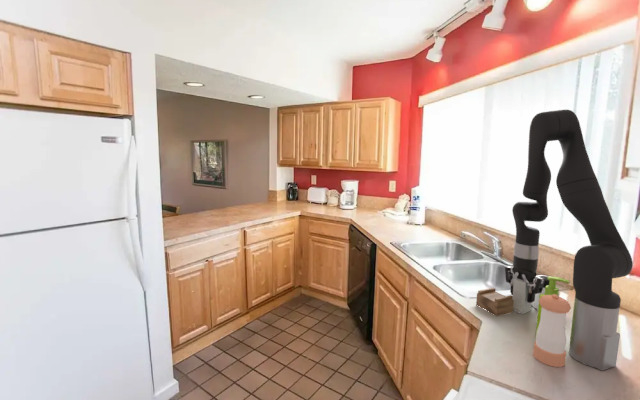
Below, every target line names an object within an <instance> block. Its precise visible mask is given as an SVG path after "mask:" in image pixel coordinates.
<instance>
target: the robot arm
mask: <svg viewBox="0 0 640 400" xmlns="http://www.w3.org/2000/svg"><path fill="white" fill-rule="evenodd" d="M528 133H529V134H528V149H527V150H528V153H527V154H528V155H527V170H526V177H525V181H524V185H523V189H522V194H523V197H524V198H525V199H526V198H527V199H528V200H531V201H517V202H516V203H514V204H513V207H512V210H511V211H512V217H513V219H514V223H515V229H516V230H515V233H516V234H515V243H514V248H513V258H512V259H513V260H512V266H505V268H504V271H505V272H504V273H505V282H506V283H508V284H509V285H510V295H511V296H513V283H514V279H516V278H518V279H521V280H524V282H526V283H527V284H526V287H527V288H528V291H529V293H528V300H527V302H529V303H532V302H534V301H535V294H538V293H541V292H542V289H543V286H544V283H545V278H540V277H538V276H537V270H538V263H539V253H540V250H539V244H540V243H539V242H540V235H541V234H540V230H539V229H537V228H536V227H533V226H532V227H531V226H527V225H526V223H525V222H534V223H535V222H537V223H539V222H540V223H542V222H544V221H545V220H546V219H547V218H548V216H549V209H548V191H549V189H550V184H551V182H552V181H551V180H552V172H551V169H550V167H549V164H548V162H547V159H546V156H545V151H546V146H547V143H548V142H553V141H558V142H559V144H560V147H561V151H562V159H561V160H562V162H561V164H560V167H559V169H558V172H557V176H556V180H555V181H556V187H557V191H558V194H559V197H560V200H561V201H562V204H563V205H564V207H565V208H566V209H567V210H568V212H569V213H570V214H571V215H572V216H573V218H575V220H577V222H578V223H580V225H581V226H582V228H583V229H584V230H585V232H586V235H587V237H588V240H589V243H590V244H589V245H585V246H582V247H581V248H579V249H578V250H577V252H576V253H575V256H574V259H573V270H572V271H573V273H572V286H573V289H574V292H575V293H574V295H575V296H574V303H573V312H572V318H571V319H572V320H571V328H570V338H569V344H568V353H569V355H570V356H571V357H572V358H573V359H574V360H576V361H577V362H580V363H581V364H583V365H586V366H588V367H592V368H595V369H598V370H599V371H602V372H604V371H606V370H609V369H611V368H613V367H616V366H617V360H618V355H619V354H618V352H619V345H620V339H621V334H620V333H619V332H618V331H617V328H618V322H619V314H620V308H621V296H620V295H619V294H618V293H617V292H614V291H613V279H617V278H618V279H619V278H624V277H626V276H628V275H629V274H630V273H631V272H632V269H633V257H632V256H631V253H630V251H629V249H628V248H627V245H626V244H625V241H624V240H623V237H621V234H620V232H619V230H618V229H617V226H616V225H615V223H614V219H613V217H612V215H611V212H610V210H609V207H608V205H607V202H606V200H605V197H604V194H603V191H602V188H601V185H600V183H599V181H598V178H597V175H596V173H595V171H594V169H593V166H592V163H591V161H590V160H591V159H590V157H589V155H588V151H587V149H586V148H587V147H586V145H585V140H584V136H583V132H582V128H581V125H580V120H579V118H578V117H577V114H576V112H574V111H573V110H570V109H559V110H549V111H542V112H539V113H537V114H536V115H534V117H533V118H532V119H531V122H530V125H529V132H528ZM535 280H536V281H535ZM534 281H535V282H536V285H535V282H534ZM530 282H531V284H529V283H530Z"/></svg>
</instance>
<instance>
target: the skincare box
mask: <svg viewBox="0 0 640 400" xmlns="http://www.w3.org/2000/svg"><path fill="white" fill-rule="evenodd" d="M526 284H527V283H526V282H524V280H521V279H518V278H516V279H514V283H513V295H512V296H513V298H512V299H513V300H514V302H513V311H514V312H516V313H520V314H523V315H524V314H527V313H528V312H530V311H531V309H532V308H531V307H532V306H531V303H529V302H527V300H528V293H529V291H528V288H527V287H526ZM529 284H531V282H530V283H529Z"/></svg>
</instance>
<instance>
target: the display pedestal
mask: <svg viewBox="0 0 640 400" xmlns="http://www.w3.org/2000/svg"><path fill="white" fill-rule="evenodd" d="M512 298H513V295H511V294H509V295H504V294H502V293H501V292H500V293H499V292H498V291H496V287H491V288H486V289H480V290H478V291H477V292H476V302H475V303H476V304H475V305H476V306H477V305H478V306H480V307H481V308H480V307H479V308H480V309H482V308H484V309H486V310H487V311H486V310H485V311H486V312H488V311H489V312H488V313H490V314H491V313H492V315H493V314H494V315H493V316H495V317H499V316H503V315H509V314H513V311H514V310H513V302H514V300H513V299H512ZM478 306H477V307H478ZM484 309H483V310H484Z"/></svg>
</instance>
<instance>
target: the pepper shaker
mask: <svg viewBox="0 0 640 400" xmlns="http://www.w3.org/2000/svg"><path fill="white" fill-rule="evenodd" d="M539 303H540V306H541V307H542V310H541V318H540V323H539V326H538V329H537V334H536V333H535V335H536V337H535V341H534V342H533V350H532V351H533V352H532V354H533V356H534V358H535V359H536V360H537V361H539V362H540V363H542V364H544V365H547V366H550V367H553V368H561V367H564V366H565V364H566V358H567V351H566V344H567V335H566V333H567V332H566V322H567V321H566V320H567V318H566V317H567V314H568V313H569V312H570V310H571V309H572V307H571V304H570V303H569V301H568V300H567V299H565V298H562V297H561V296H560V295H559V296H558V295H556V294H553V295H544V296H542V297H541V298H540V299H539Z"/></svg>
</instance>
